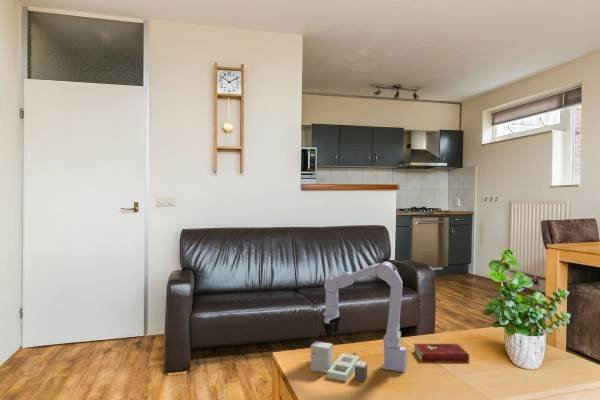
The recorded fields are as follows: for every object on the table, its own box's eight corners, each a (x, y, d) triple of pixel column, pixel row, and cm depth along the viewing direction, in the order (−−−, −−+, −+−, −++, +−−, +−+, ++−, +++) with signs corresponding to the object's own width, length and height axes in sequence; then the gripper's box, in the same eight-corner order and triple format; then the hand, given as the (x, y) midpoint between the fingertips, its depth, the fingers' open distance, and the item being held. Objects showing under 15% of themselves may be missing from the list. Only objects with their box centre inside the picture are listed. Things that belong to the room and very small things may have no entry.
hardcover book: (469, 362, 167) (469, 353, 167) (421, 362, 168) (421, 353, 168) (458, 351, 179) (458, 343, 179) (413, 351, 180) (413, 342, 180)
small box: (333, 368, 160) (333, 343, 160) (328, 374, 155) (328, 348, 155) (315, 365, 164) (315, 340, 164) (310, 370, 159) (310, 345, 159)
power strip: (363, 356, 173) (363, 350, 173) (346, 381, 149) (346, 374, 149) (346, 353, 176) (346, 347, 176) (327, 377, 152) (327, 371, 152)
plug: (367, 377, 153) (367, 362, 153) (364, 381, 149) (364, 366, 149) (357, 375, 154) (357, 360, 154) (354, 379, 151) (354, 364, 151)
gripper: (329, 299, 181) (329, 328, 181) (317, 307, 167) (317, 338, 167) (343, 301, 178) (343, 330, 178) (333, 309, 165) (333, 341, 165)
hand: (332, 334), depth 172 cm, fingers open, 7 cm apart
